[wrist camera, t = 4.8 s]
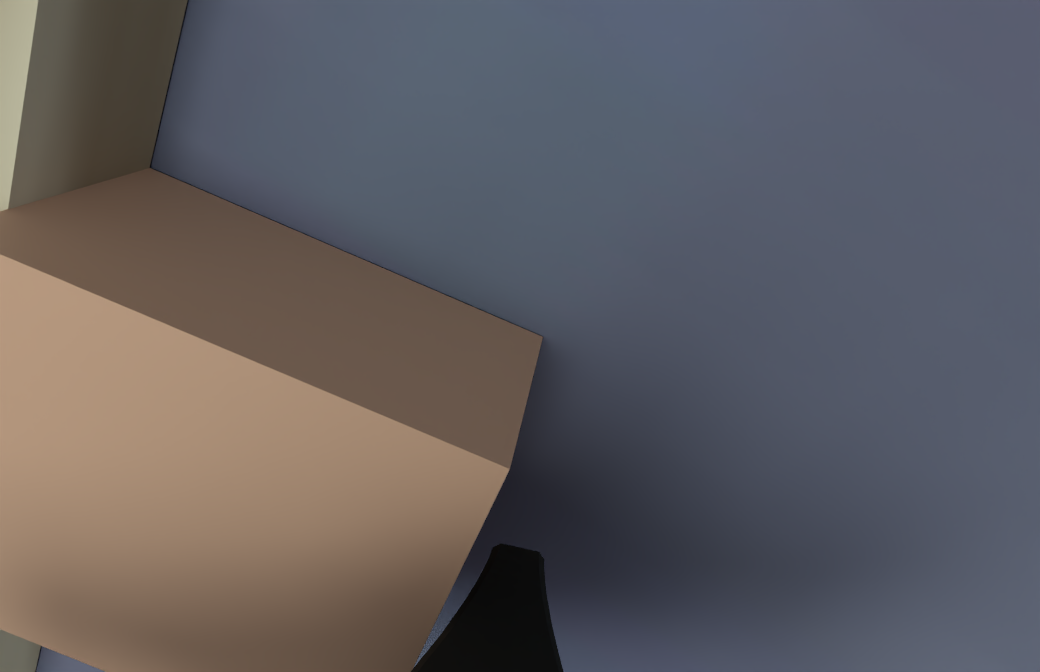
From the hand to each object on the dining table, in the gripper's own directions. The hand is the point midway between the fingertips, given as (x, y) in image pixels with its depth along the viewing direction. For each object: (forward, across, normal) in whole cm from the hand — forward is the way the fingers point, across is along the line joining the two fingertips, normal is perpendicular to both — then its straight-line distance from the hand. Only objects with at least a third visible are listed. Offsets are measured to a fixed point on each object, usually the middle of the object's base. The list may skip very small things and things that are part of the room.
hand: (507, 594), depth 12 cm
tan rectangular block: (+2, +4, -2) cm, 5 cm away
